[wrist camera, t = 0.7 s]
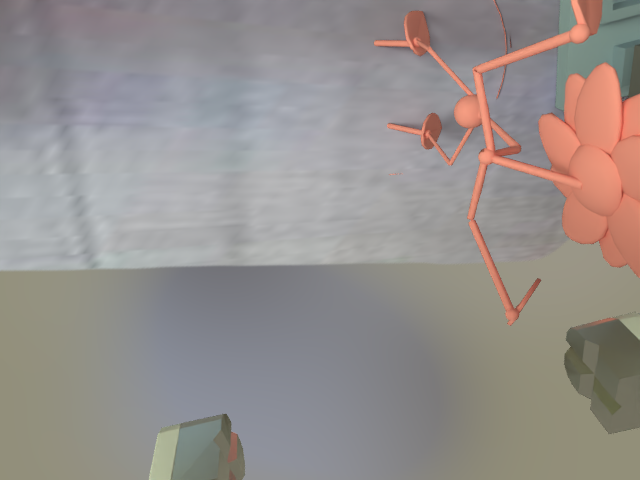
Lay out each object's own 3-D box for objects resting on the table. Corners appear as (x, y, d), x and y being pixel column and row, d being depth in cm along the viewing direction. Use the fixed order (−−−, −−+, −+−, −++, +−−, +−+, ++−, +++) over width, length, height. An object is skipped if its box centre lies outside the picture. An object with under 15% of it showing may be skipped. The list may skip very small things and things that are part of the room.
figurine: (391, 192, 59) (548, 434, 29) (351, -45, 45) (571, -56, 15) (510, 159, 59) (791, 366, 29) (507, -87, 45) (1027, -180, 15)
